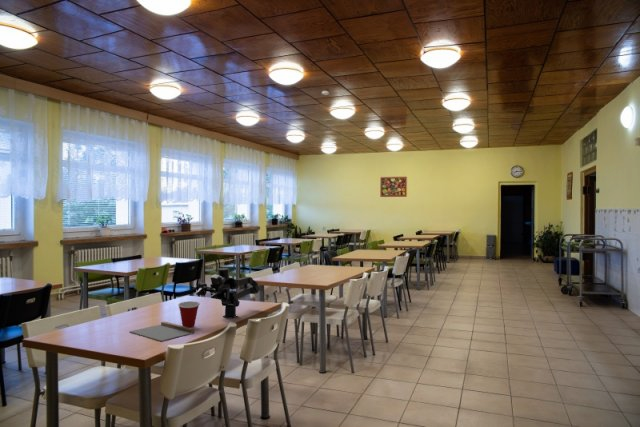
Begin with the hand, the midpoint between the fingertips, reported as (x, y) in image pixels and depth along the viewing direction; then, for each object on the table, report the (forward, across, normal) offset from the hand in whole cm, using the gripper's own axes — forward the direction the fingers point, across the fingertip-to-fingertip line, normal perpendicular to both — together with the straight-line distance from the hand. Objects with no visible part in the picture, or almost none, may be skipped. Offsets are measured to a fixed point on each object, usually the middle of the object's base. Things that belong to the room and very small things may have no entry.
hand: (203, 295), depth 229 cm
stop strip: (+11, -7, +16) cm, 21 cm away
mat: (+20, -9, +16) cm, 27 cm away
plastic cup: (+4, -5, +17) cm, 18 cm away
